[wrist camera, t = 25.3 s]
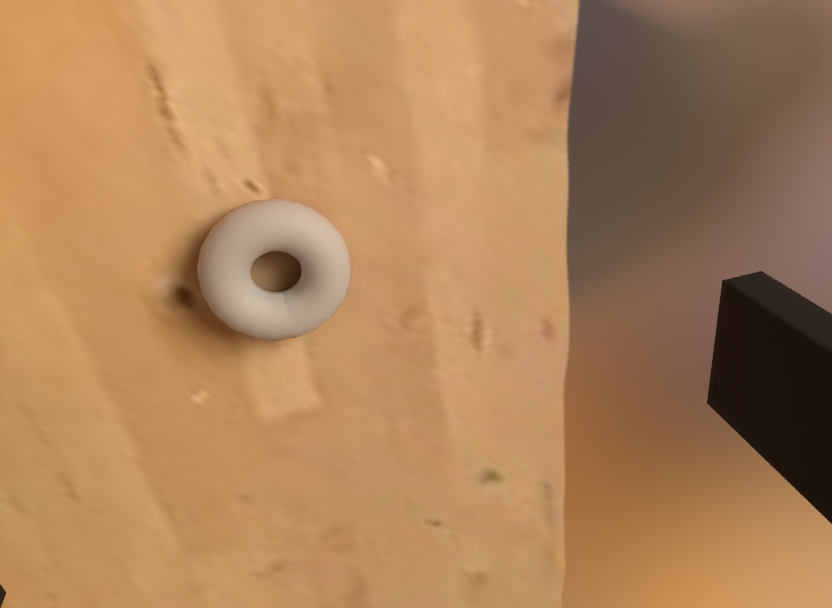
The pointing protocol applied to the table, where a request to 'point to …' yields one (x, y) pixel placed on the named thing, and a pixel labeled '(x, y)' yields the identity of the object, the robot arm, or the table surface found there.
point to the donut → (265, 232)
